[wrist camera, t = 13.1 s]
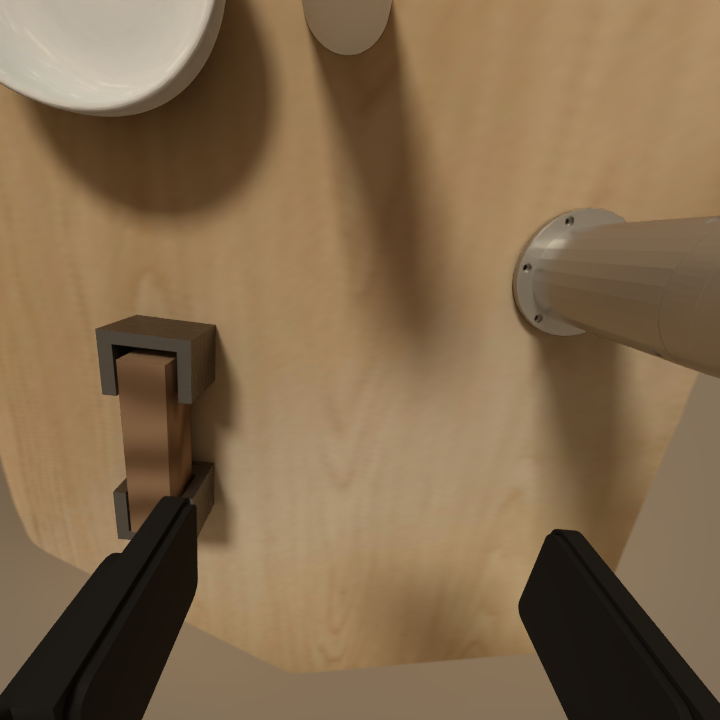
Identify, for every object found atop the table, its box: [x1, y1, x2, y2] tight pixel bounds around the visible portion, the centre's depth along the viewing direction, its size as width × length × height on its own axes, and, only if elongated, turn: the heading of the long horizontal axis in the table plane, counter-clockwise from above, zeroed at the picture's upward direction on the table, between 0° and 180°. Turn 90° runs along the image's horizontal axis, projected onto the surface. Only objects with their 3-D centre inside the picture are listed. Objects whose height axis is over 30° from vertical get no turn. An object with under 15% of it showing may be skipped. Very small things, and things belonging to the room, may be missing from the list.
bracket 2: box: [113, 461, 214, 540], centre depth 38 cm, size 6×8×6 cm
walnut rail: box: [116, 348, 192, 532], centre depth 34 cm, size 19×4×5 cm, turn 172°
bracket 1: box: [95, 315, 215, 404], centre depth 33 cm, size 6×8×6 cm
